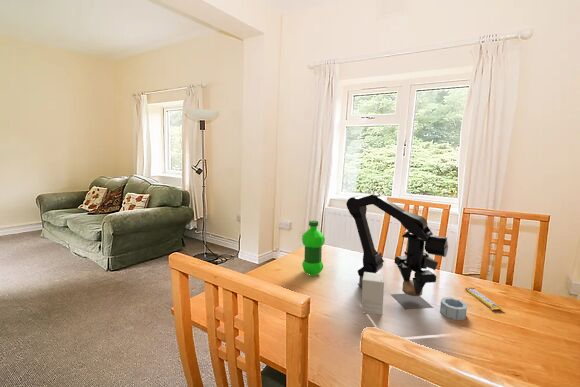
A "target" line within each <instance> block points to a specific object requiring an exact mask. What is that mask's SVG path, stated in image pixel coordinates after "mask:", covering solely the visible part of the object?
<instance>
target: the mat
mask: <svg viewBox="0 0 580 387" xmlns="http://www.w3.org/2000/svg"><path fill="white" fill-rule="evenodd" d="M390 295H391V297H393V299H394V300H395V301H396V302H397V303H398V304H399V305H400V306H401V307H402V308H403V309H404V310H417V309H430V308H434V306H432V305H431V304H430V303H429V302H428V301H427V300H426V299H424V298H423V297H422V295H421V296H411V295H408V294H405V293H404V292H403V293H391V294H390Z"/></svg>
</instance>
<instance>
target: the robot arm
mask: <svg viewBox="0 0 580 387" xmlns="http://www.w3.org/2000/svg"><path fill="white" fill-rule="evenodd" d="M370 205H373V206H375V207H377V208H378V209H380V210H381V211H383V212H384V213H386V214H388V215H389V216H391V217H392V218H394V219H395V220H397V221H398V222H400V224H401V225H402V226H403V228H404V229H405V230H406V232H405V233H404V234H402V235H401V236H402V238H405V239H407V248H406V250H405V251H404V254H405V255H399V256H398V255H397V256H396V257H395V258H394V264H395V265H396V266H397V268H398V269H399V272H400V275H401V277H402V279H403V281H405V280H411V275H412V272H414V277H412V280H413V283H414V287H415V292H416V294H417V295H419V294H420V292H421V291H422V289H423V290H424V287H425V285H426V284H427V283H436V282H437V275H436V274H435V273H434V272H432V271H430V270H428V269H427V268H429V269H432V270H433V271H436V269H437V267H438V265H439V262H438V261H437V260H435V259H433V258H431V257H430V255H434V256H439V257H442V258H446V257H447V254H448V249H449V245H448V244H449V242H448V237H446V236H437V235H433V234H434V233H433V232H432V230H431V229H430V228H429V226H428V222H427V219H426V218H425V217H424V216H421V215H418V214H417V213H413V212H410V211H406V210H405V209H403V208H401V207H400V206H398V205H396V204H395V203H393V202H391V201H390V200H388V199H386V198H385V197H383V196H382V195H380V193H377V192H376V193H373V194H369V195H368V196H367V195H366V196H361V195H357V196H352V197H349V198H348V199H347V201H346V208H347V211H348V212H349V214H350V216H351V217H352V218H353V220H354V222H355V226H356V229H357V233H358V236H359V240H360V244H361V247H362V251H363V254H362V255H363V256H362V264H363V265H362V267H361V268H359V269H358V270H357V274H358V276H359V280H358V282H359V283H358V282H357V285H358V286H359V288H360V289H361V290H362V279H363V275H364V272H369V273H378V272H379V271H381V269H382V268H383V267H384V262H385V260H384V258H383V255H382V252H378V251H377V250H376V249H375V245H374V241H373V237H372V234H371V231H370V230H371V229H370V227H369V223H368V220H367V219H368V218H367V210H368V208H367V207H368V206H370ZM422 269H423V270H422ZM422 292H423V291H422Z"/></svg>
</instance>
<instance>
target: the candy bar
mask: <svg viewBox="0 0 580 387" xmlns="http://www.w3.org/2000/svg"><path fill="white" fill-rule="evenodd" d="M465 291H466V292H467V293H469V294H470V295H471V296H473V297H474V298H475V299H476V300H477V301H479V302H480V303H481V304H483V305H485V307H487V308H488V309H490V310H491V311H493V310H499V311H504V309H503V308H501V307H500V306H499V305H498V304H496V303H495V302H493V301H492V300H490V299H489V298H487V297H486V296H485V295H484V294H482V293H480V292H479V291H478V290H476V289H475V287H469V288H468V287H465Z"/></svg>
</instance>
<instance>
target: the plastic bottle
mask: <svg viewBox="0 0 580 387" xmlns="http://www.w3.org/2000/svg"><path fill="white" fill-rule="evenodd" d="M308 226H309V229H308V230H306V231H305V232H303V233H302V236H301V241H302V244H303V245H304V257H303V258H304V259H303V261H302V265H301V266H302V269H303V271H304V272H305V273H306V274H307V273H308V274H310V275H309V276H311V275H315V276H317V275H319V274H320V273H321V272H322V271H323V269H324V264H323V262H322V251H323V250H322V246H324V244H325V240H326V239H325V235H324V233H322V232H321V231H320V230H319V229H318V226H319V221H318V220H309V221H308ZM308 274H307V275H308Z"/></svg>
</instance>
